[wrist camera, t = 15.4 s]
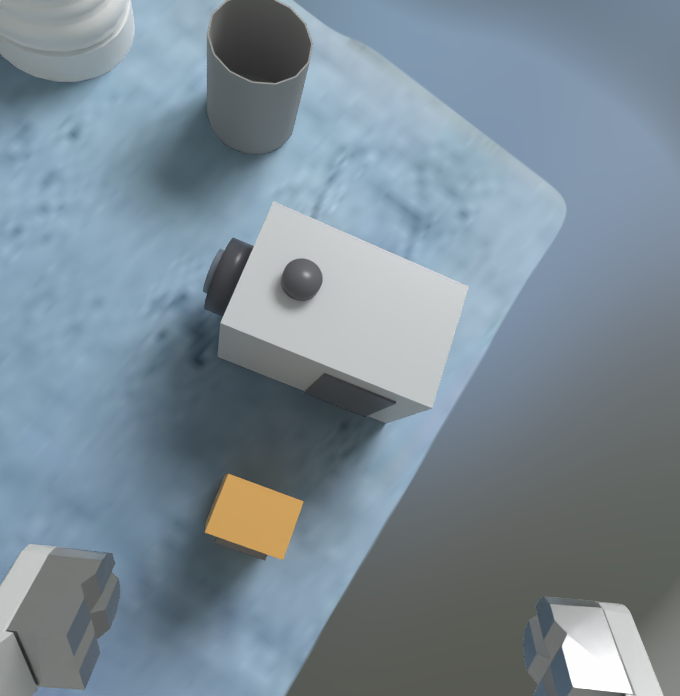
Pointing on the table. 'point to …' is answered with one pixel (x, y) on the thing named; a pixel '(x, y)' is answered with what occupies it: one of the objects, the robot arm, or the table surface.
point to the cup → (255, 73)
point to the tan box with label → (252, 518)
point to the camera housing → (334, 316)
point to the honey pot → (66, 36)
